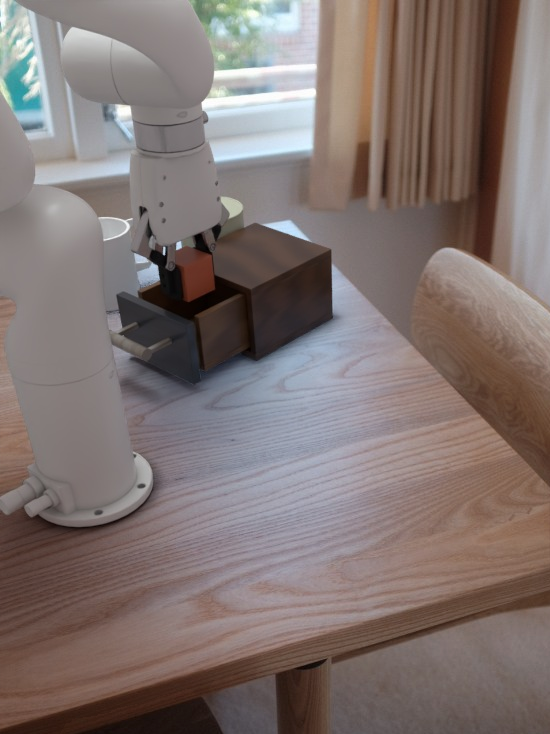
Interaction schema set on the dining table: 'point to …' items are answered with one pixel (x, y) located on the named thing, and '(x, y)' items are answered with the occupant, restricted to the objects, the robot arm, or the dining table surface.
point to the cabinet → (276, 283)
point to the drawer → (183, 329)
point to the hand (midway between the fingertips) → (189, 287)
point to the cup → (119, 260)
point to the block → (195, 272)
